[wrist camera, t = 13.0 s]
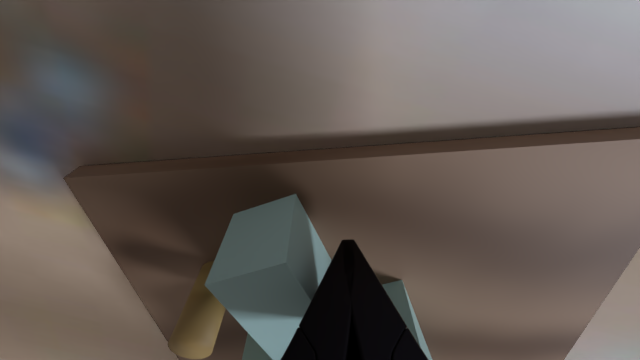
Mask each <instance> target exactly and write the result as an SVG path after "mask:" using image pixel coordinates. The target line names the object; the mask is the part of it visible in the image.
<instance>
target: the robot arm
mask: <svg viewBox="0 0 640 360" xmlns="http://www.w3.org/2000/svg"><path fill="white" fill-rule="evenodd" d="M281 360H428V358H427V357H426V355H425V353H424V352H423V350H422V349H421V347H420V346H419V344H418V343H417V341H416V340H415V338H414V336H413V335H412V333H411V331H410V330H409V328H407V325H406V324H405V322H404V320H403V319H402V317H401V315H400V314H399V312H398V310H397V309H396V307H395V306H394V304H393V302H392V301H391V299H390V297H389V296H388V294H387V292H386V291H385V289H384V288H383V286H382V284H381V283H380V281H379V279H378V278H377V276H376V274H375V273H374V271H373V270H372V268H371V266H370V265H369V263H368V261H367V260H366V258H365V256H364V255H363V253H362V252H361V250H360V248H359V247H358V245H357V243H356V242H355V240H354V239H345V240H342V241H341V243H340V245H339V247H338V249H337V251H336V253H335V255H334V257H333V259H332V261H331V263H330V265H329V267H328V269H327V271H326V273H325V275H324V277H323V279H322V280H321V282H320V284H319V286H318V288H317V290H316V292H315V294H314V296H313V298H312V300H311V302H310V304H309V306H308V308H307V310H306V312H305V314H304V316H303V318H302V320H301V322H300V324H299V327H298V328H297V330H296V332H295V334H294V336H293V338H292V340H291V342H290V343H289V345H288V347H287V349H286V351H285V353H284V354H283V356H282V358H281Z"/></svg>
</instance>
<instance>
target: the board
mask: <svg viewBox="0 0 640 360" xmlns="http://www.w3.org/2000/svg"><path fill="white" fill-rule="evenodd" d="M64 180H65V182H66V183H67V185H68V186H69V188H70V189H71V191H72V193H73V194H74V196H75V197H76V199H77V200H78V202H79V204H80V205H81V207H82V208H83V210H84V211H85V213H86V214H87V216H88V218H89V219H90V221H91V222H92V224H93V225H94V227H95V229H96V230H97V232H98V233H99V235H100V236H101V238H102V239H103V241H104V243H105V244H106V246H107V247H108V249H109V250H110V252H111V254H112V255H113V257H114V258H115V260H116V261H117V263H118V265H119V266H120V268H121V269H122V271H123V272H124V274H125V275H126V277H127V279H128V280H129V282H130V283H131V285H132V286H133V288H134V290H135V291H136V293H137V294H138V296H139V297H140V299H141V300H142V302H143V304H144V305H145V307H146V308H147V310H148V311H149V313H150V315H151V316H152V318H153V319H154V321H155V322H156V324H157V326H158V327H159V329H160V330H161V332H162V333H163V335H164V336H165V338H166V340H167V341H168V347H169V349H170V350H171V351H172V352H173V353H175V354H176V355H177V357H178V358H179V360H242V356H243V352H244V347H245V343H246V339H247V334H248V332H247V331H246V330H245V329H244V328H243V327H242V326H241V325H240V323H239V322H238V321H237V320H236V319H235V318H234V317H233V316H232V315H231V314H230V313H229V311H228V310H227V309H226V308H225V307H224V306H223V305H222V304H221V303H220V302H219V301H218V299H217V298H216V297H215V296H214V295H213V294H212V293H211V292H210V291H209V290H208V289H207V287H206V286H205V282H206V280H207V277H208V275H209V273H210V270H211V268H212V265H213V263H214V260H215V258H216V255H217V253H218V251H219V248H220V246H221V243H222V241H223V238H224V236H225V233H226V231H227V229H228V226H229V224H230V221H231V219H232V216H233V214H235V213H238V212H241V211H244V210H247V209H250V208H253V207H256V206H259V205H263V204H266V203H269V202H272V201H275V200H278V199H281V198H284V197H287V196H290V195H293V194H296V195H297V197H298V199H299V201H300V202H301V204H302V206H303V208H304V210H305V212H306V214H307V215H308V217H309V219H310V221H311V223H312V225H313V227H314V228H315V230H316V232H317V234H318V236H319V238H320V240H321V242H322V243H323V245H324V247H325V249H326V251H327V253H328V255H329V256H330V258H331V260H332V259H333V257H334V255H335V253H336V251H337V249H338V247H339V245H340V243H341V241H342V240H345V239H354V240H355V242H356V243H357V245H358V247H359V248H360V250H361V252H362V253H363V255H364V256H365V258H366V260H367V261H368V263H369V265H370V266H371V268H372V270H373V271H374V273H375V274H376V276H377V278H378V279H379V281H380V283H381V284H386V283H391V282H395V281H399V280H402V281H403V283H404V286H405V288H406V291H407V294H408V296H409V299H410V302H411V304H412V307H413V310H414V312H415V315H416V318H417V320H418V323H419V326H420V328H421V331H422V334H423V336H424V339H425V342H426V344H427V347H428V350H429V352H430V355H431V357H432V360H564V359H565V357H566V356H567V354H568V353H569V351H570V350H571V348H572V347H573V346H574V344H575V343H576V341H577V340H578V338H579V337H580V335H581V334H582V332H583V331H584V329H585V328H586V326H587V325H588V323H589V322H590V320H591V319H592V317H593V316H594V314H595V313H596V311H597V310H598V309H599V307H600V306H601V304H602V303H603V301H604V300H605V298H606V297H607V295H608V294H609V292H610V291H611V289H612V288H613V286H614V285H615V283H616V282H617V280H618V279H619V277H620V276H621V274H622V273H623V272H624V270H625V269H626V267H627V266H628V264H629V263H630V261H631V260H632V258H633V257H634V255H635V254H636V252H637V251H638V249H639V248H640V127H633V128H619V129H604V130H590V131H576V132H561V133H547V134H533V135H518V136H504V137H490V138H475V139H461V140H447V141H432V142H418V143H404V144H389V145H375V146H361V147H346V148H332V149H318V150H303V151H289V152H275V153H260V154H246V155H232V156H217V157H203V158H189V159H174V160H160V161H146V162H131V163H117V164H103V165H88V166H80V167H78V168H77V169H75V170H74V171H73V172H71V173H70V174H68V175H67V176H66V177H64Z"/></svg>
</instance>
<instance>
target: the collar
mask: <svg viewBox="0 0 640 360" xmlns="http://www.w3.org/2000/svg"><path fill="white" fill-rule="evenodd" d="M331 261H332V260H331V258H330V256H329V255H328V253H327V251H326V249H325V247H324V245H323V243H322V242H321V240H320V238H319V236H318V234H317V232H316V230H315V228H314V227H313V225H312V223H311V221H310V219H309V217H308V215H307V214H306V212H305V210H304V208H303V206H302V204H301V202H300V201H299V199H298V197H297V195H296V194H293V195H290V196H287V197H284V198H281V199H278V200H275V201H272V202H269V203H266V204H263V205H259V206H256V207H253V208H250V209H247V210H244V211H241V212H238V213H235V214H233V216H232V219H231V221H230V224H229V226H228V229H227V231H226V233H225V236H224V238H223V241H222V243H221V246H220V248H219V251H218V253H217V255H216V258H215V260H214V263H213V265H212V268H211V270H210V273H209V275H208V277H207V280H206V282H205V286H206V287H207V289H208V290H209V291H210V292H211V293H212V294H213V295H214V296H215V297H216V298H217V299H218V301H219V302H220V303H221V304H222V305H223V306H224V307H225V308H226V309H227V310H228V311H229V313H230V314H231V315H232V316H233V317H234V318H235V319H236V320H237V321H238V322H239V323H240V325H241V326H242V327H243V328H244V329H245V330H246V331H247V332H248V334H247V339H246V343H245V347H244V352H243V356H242V360H281V358H282V356H283V354H284V353H285V351H286V349H287V347H288V345H289V343H290V342H291V340H292V338H293V336H294V334H295V332H296V330H297V328H298V327H299V324H300V322H301V320H302V318H303V316H304V314H305V312H306V310H307V308H308V306H309V304H310V302H311V300H312V298H313V296H314V294H315V292H316V290H317V288H318V286H319V284H320V282H321V280H322V279H323V277H324V275H325V273H326V271H327V269H328V267H329V265H330V263H331ZM382 286H383V288H384V289H385V291H386V292H387V294H388V296H389V297H390V299H391V301H392V302H393V304H394V306H395V307H396V309H397V310H398V312H399V314H400V315H401V317H402V319H403V320H404V322H405V324H406V325H407V328H409V330H410V331H411V333H412V335H413V336H414V338H415V340H416V341H417V343H418V344H419V346H420V347H421V349H422V350H423V352H424V353H425V355H426V357H427V358H428V360H432V357H431V355H430V352H429V350H428V347H427V344H426V342H425V339H424V336H423V334H422V331H421V328H420V326H419V323H418V320H417V318H416V315H415V312H414V310H413V307H412V304H411V302H410V299H409V296H408V294H407V291H406V288H405V286H404V283H403V281H402V280H399V281H395V282H391V283H386V284H382Z"/></svg>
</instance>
